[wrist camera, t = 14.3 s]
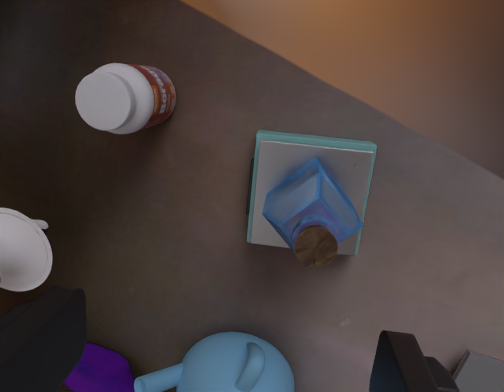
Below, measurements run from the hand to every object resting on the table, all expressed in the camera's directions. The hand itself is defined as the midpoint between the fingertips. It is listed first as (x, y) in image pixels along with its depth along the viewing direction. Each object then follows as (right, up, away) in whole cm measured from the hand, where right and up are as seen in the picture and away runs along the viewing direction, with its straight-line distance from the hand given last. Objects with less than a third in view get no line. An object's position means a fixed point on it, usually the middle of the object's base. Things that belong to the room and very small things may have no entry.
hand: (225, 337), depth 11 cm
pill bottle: (-10, +15, +33) cm, 37 cm away
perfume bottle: (+7, +3, +30) cm, 31 cm away
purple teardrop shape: (-20, -17, +43) cm, 51 cm away
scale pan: (+7, +4, +31) cm, 32 cm away
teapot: (-1, -19, +42) cm, 46 cm away
